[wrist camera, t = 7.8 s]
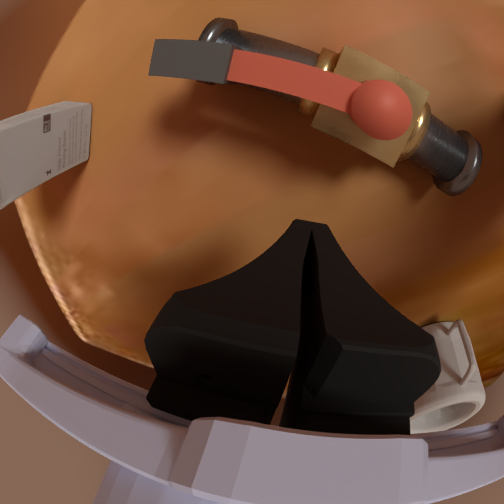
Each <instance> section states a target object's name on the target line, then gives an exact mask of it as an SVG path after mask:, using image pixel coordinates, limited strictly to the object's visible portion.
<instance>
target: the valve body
mask: <svg viewBox="0 0 504 504" xmlns="http://www.w3.org/2000/svg"><path fill="white" fill-rule="evenodd" d="M315 67H316V68H319V69H323V70H326V71H329V72H332V73H335V74H338V75H341V76H343V77H346V78H349V79H352V80H354V81H357V82H359V83H361V82H364V81H369V80H386V81H390V82H392V83H394V84H396V85H397V86H399V87H400V88H401V89H402V90H403V91H404V92H405V93H406V95H407V96H408V98H409V100H410V103H411V106H412V120H411V124H410V126H409V128H408V129H407V131H406V132H405V133H404V134H403V135H401V136H400V137H398V138H396V139H393V140H379V139H375V138H373V137H371V136H369V135H367V134H366V133H365V132H364V131H363V130H361V129H360V128H359V127H358V126H357V125H356V124H355V123H354V121H353V120H352V119H351V117H350V115H349V114H348V113H346V112H343V111H340V110H338V109H335V108H332V107H329V106H326V105H323V104H320V103H317V102H314V101H311V100H308V99H304V98H302V99H301V102H300V104H299V107H298V110H297V112H299V113H302V114H304V115H307V116H309V117H311V118H312V120H311V127H313V128H315V129H317V130H320V131H322V132H324V133H326V134H329V135H331V136H333V137H335V138H337V139H339V140H341V141H344V142H346V143H348V144H350V145H352V146H354V147H356V148H358V149H360V150H362V151H364V152H365V153H367V154H369V155H371V156H373V157H375V158H377V159H378V160H380V161H382V162H384V163H386V164H387V165H389V166H391V167H393V168H394V166H395V164H396V162H397V161H399V162H400V161H404V160H406V159H408V158H409V157H410V156H411V155H412V154H413V153H414V152H415V151H416V149H417V148H418V147H419V145H420V144H421V142H422V140H423V138H424V136H425V134H426V132H427V129H428V126H429V122H430V117H431V109H430V106H429V104H428V103H427V102H426V100H427V98H428V96H429V94H430V92H429V91H428V90H426V89H425V88H423V87H422V86H420V85H419V84H417V83H416V82H414V81H412V80H411V79H409V78H408V77H406V76H404V75H403V74H401V73H399V72H398V71H396V70H394V69H392V68H391V67H389V66H387V65H385V64H383V63H381V62H380V61H378V60H376V59H374V58H372V57H370V56H368V55H366V54H364V53H362V52H360V51H358V50H355V49H353V48H351V47H349V46H347V45H345V46H344V47H343V49H342V50H341V52H340V53H339V54H338V53H336V52H333V51H331V50H329V49H326V48H323V49H322V51H321V53H320V55H319V57H318V60H317V62H316V64H315Z"/></svg>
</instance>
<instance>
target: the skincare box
mask: <svg viewBox="0 0 504 504" xmlns="http://www.w3.org/2000/svg"><path fill="white" fill-rule="evenodd" d="M91 115H92V105H91V103H83V102H70V101H63V102H59V103H56V104H52V105H48V106H44V107H41V108H37V109H34V110H31V111H27V112H24V113H21V114H18V115H16V116H13V117H10V118H7V119H4V120H2V121H0V210H1V209H2V208H4V207H5V206H6V205H8V204H9V203H11V202H13V201H14V200H16V199H18V198H19V197H21V196H22V195H24V194H26V193H27V192H29V191H30V190H32V189H34V188H35V187H37V186H39V185H41V184H42V183H44V182H46V181H48V180H50V179H51V178H53V177H55V176H57V175H59V174H61V173H63V172H65V171H67V170H69V169H71V168H73V167H75V166H76V165H79V164H81V163H83V162H85V161H87V160H88V157H89V146H90V130H91Z"/></svg>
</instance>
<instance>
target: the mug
mask: <svg viewBox="0 0 504 504" xmlns="http://www.w3.org/2000/svg"><path fill="white" fill-rule="evenodd" d="M421 328H422V329H424V330H425V331H427V332H428V333H430V334H431V335H432V336H434V339H435V342H436V346H437V349H438V354H439V358H440V363H441V373H440V375H439V378H438V379H437V381H436V382H435V383H434V384H433V385H432V387H431V388H430V389H429V390H428V391H426V392H425V393H424V394H423V395H422V396H421V397H420V398H419V399H418V400H416V401H415V402H414V408H415V413H414V416H412V417H410V434H417V433H429V432H438V431H445V430H447V429H450V428H452V427H455V426H457V425H459V424H461V423H462V422H464V421H466V420H467V419H469V418H470V417H472V416H473V415H474V414H476V413H477V412H478V411H479V410H480V409H481V408H482V406H483V404H484V402H485V391H484V387H483V385H482V381H481V377H480V373H479V370H478V366H477V362H476V359H475V355H474V352H473V348H472V344H471V341H470V338H469V335H468V333H467V331H466V328H465V325H464V323H463V321H462V320H460V319H458V320H456V321H455V322H454V323H453V322H438V323H433V324H430V325H427V326H424V327H421Z"/></svg>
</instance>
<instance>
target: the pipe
mask: <svg viewBox="0 0 504 504" xmlns="http://www.w3.org/2000/svg"><path fill="white" fill-rule="evenodd" d="M198 41H209V42H219V43H227V44H233V45H235V46H238V47H240V48H242V49H244V51H249V52H254V53H260V54H265V55H270V56H274V57H279V58H283V59H287V60H291V61H295V62H299V63H302V64H306V65H309V66H313V67H315V64H316V62H317V60H318V57H319V55H320V54H319V53H316V52H313V51H311V50H308V49H305V48H302V47H299V46H297V45H294V44H290V43H287V42H284V41H281V40H278V39H274V38H271V37H267V36H263V35H260V34H256V33H252V32H247V31H243V30H239V29H238V25H237V23H236V21H234V20H231V19H226V18H215V19H214V20H212V21H211V22H210V23H209V24H208V25H207V26H206V27H205V29H204V30H203V32H202V34H201V35H200V37H199V40H198ZM196 81H198V82H200V83H204V84H208V85H214V84H216V83H214V82H208V81H201V80H196ZM236 83H239V84H242V85H246V86H249V87H252V88H255V89H258V90H262V91H265V92H268V93H270V94H273V95H276V96H279V97H282V98H284V99H287V100H290V101H292V102H295V103H298V104H300V102H301V99H302V98H301V97H298V96H294V95H291V94H287V93H283V92H279V91H276V90H272V89H267V88H263V87H259V86H254V85H250V84H245V83H240V82H236ZM408 159H409V160H411V161H412V162H414V163H416V164H417V165H419V166H420V167H422V168H423V169H425V170H426V171H428V172H429V173H431V174H432V175H433V181H434V184H435V186H436V187H437V188H438V189H439V190H441V191H442V192H444V193H445V194H447V195H449V196H456V195H459V194H461V193H462V192H464V191H465V190H466V189H467V188H468V187H469V186H470V185H471V184H472V183H473V181H474V180H475V178H476V176H477V174H478V172H479V169H480V166H481V161H482V149H481V145H480V143H479V142H478V140H477V139H476V138H474V137H473V136H472V135H471V134H470V133H469V132H467V131H464V130H461V131H457V132H455V131H454V130H453V129H451V128H450V127H449V126H448V125H446V124H445V123H444V122H442V121H441V120H439V119H438V118H437V117H435V116H434V115H433V114H431V117H430V122H429V126H428V129H427V132H426V134H425V136H424V138H423V140H422V142H421V144H420V145H419V147H418V148H417V149H416V151H415V152H414V153H413V154H412V155H411V156H410V157H409V158H408Z"/></svg>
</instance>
